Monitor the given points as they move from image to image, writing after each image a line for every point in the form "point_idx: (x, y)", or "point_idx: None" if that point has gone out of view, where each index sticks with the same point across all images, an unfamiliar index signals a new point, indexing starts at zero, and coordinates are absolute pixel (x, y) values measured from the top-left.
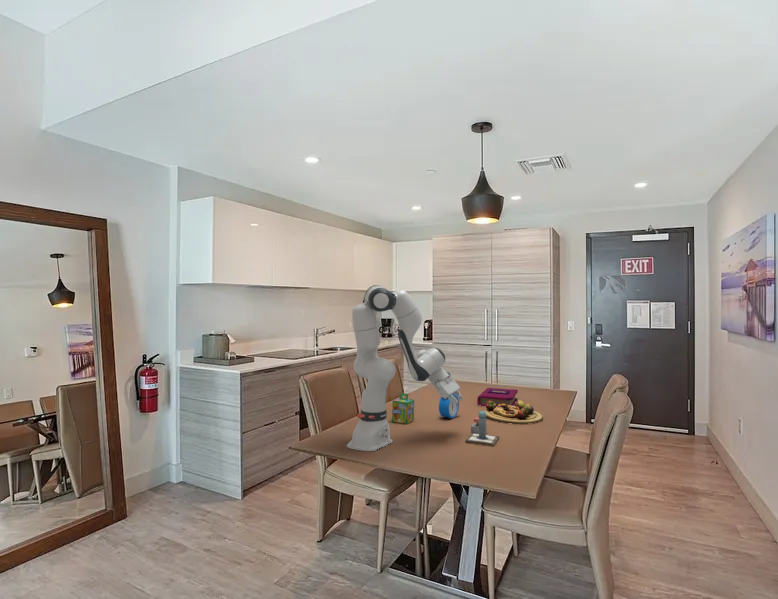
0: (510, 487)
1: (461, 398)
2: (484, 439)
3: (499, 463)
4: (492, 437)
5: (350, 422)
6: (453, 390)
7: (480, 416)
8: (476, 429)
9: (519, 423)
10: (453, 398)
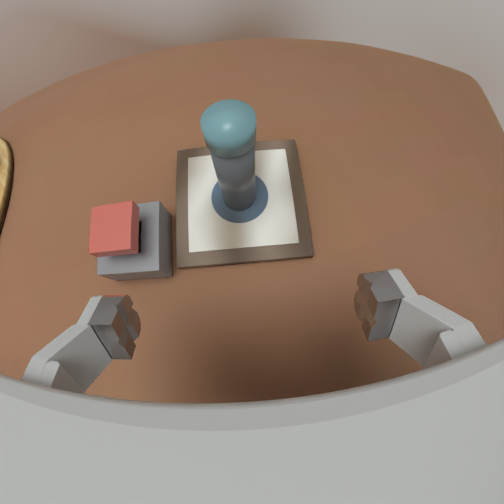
0: (488, 101)
1: (127, 308)
2: (260, 181)
3: (422, 114)
4: (210, 163)
5: None
6: (330, 422)
7: (254, 140)
8: (162, 242)
9: (12, 167)
10: (441, 312)
